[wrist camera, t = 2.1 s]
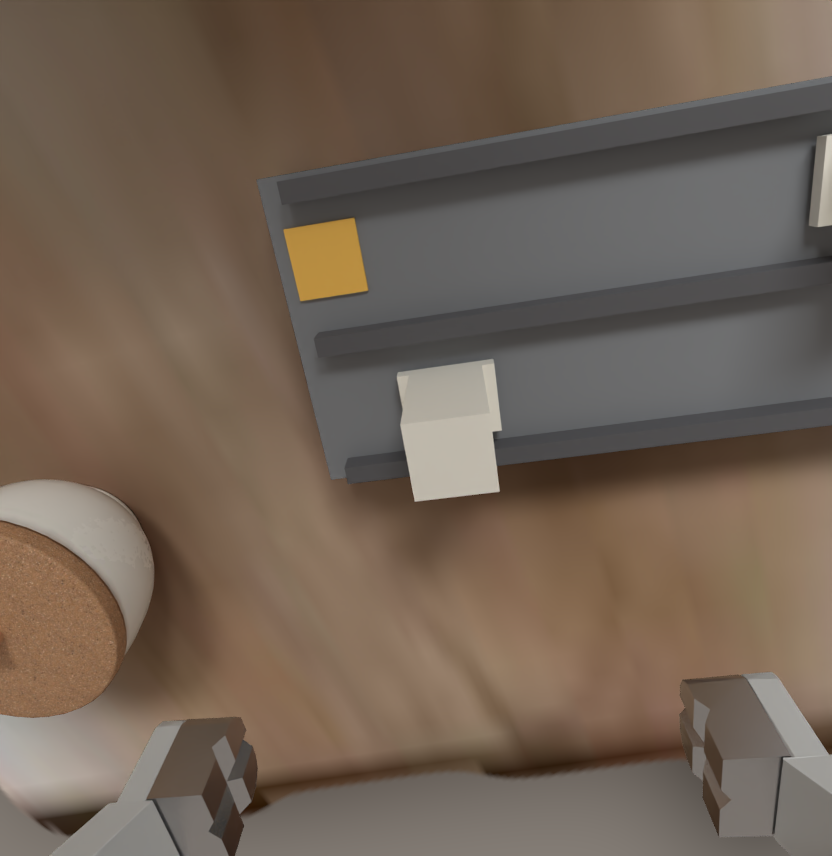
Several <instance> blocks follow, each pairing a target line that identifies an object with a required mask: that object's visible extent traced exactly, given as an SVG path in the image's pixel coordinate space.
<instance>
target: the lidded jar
mask: <svg viewBox="0 0 832 856" xmlns="http://www.w3.org/2000/svg"><path fill="white" fill-rule="evenodd" d="M153 587H154V562H153V557H152V552H151V547H150V545H149V542H148V539H147V537H146V535H145V534H144V532H143V530H142V528H141V525H140V523H139V521H138V520H137V518H136V516H135V515H134V514H133V512H132V511H131V510H130V509H129V508H128V507H127V506H126V505H125V504H124V503H123V502H122V501H120V500H119V499H118V498H116V497H115V496H113V495H111V494H110V493H108V492H106V491H103V490H101V489H98V488H95V487H92V486H87V485H82V484H79V483H75V482H70V481H64V480H49V479H37V480H27V481H21V482H16V483H12V484H8V485H4V486H0V714H3V715H9V716H16V717H30V718H36V717H49V716H55V715H60V714H65V713H68V712H70V711H73V710H76V709H79V708H81V707H83V706H85V705H87V704H88V703H90V702H92V701H93V700H95V699H96V698H97V697H98V696H99V695H101V694H102V693H103V692H104V690H105V689H106V688H107V687H108V685H109V684H110V683H111V681H112V680H113V678H114V677H115V675H116V673H117V672H118V670H119V668H120V665H121V663H122V661H123V659H124V656H125V654H126V653H127V651H128V650H129V648H130V646H131V645H132V643H133V641H134V639H135V638H136V636H137V634H138V631H139V629H140V627H141V625H142V622H143V620H144V618H145V616H146V613H147V611H148V607H149V604H150V601H151V597H152V592H153Z"/></svg>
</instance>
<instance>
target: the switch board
mask: <svg viewBox="0 0 832 856" xmlns="http://www.w3.org/2000/svg"><path fill="white" fill-rule="evenodd" d="M828 134H832V76H830V77H825V78H819V79H814V80H808V81H803V82H797V83H791V84H786V85H780V86H775V87H769V88H764V89H758V90H753V91H747V92H741V93H736V94H730V95H725V96H719V97H714V98H708V99H702V100H697V101H691V102H686V103H680V104H675V105H669V106H663V107H658V108H652V109H647V110H641V111H636V112H630V113H625V114H619V115H613V116H608V117H602V118H597V119H591V120H586V121H580V122H574V123H569V124H563V125H558V126H552V127H547V128H541V129H535V130H530V131H524V132H519V133H513V134H508V135H502V136H496V137H491V138H485V139H480V140H474V141H469V142H463V143H458V144H452V145H446V146H441V147H435V148H430V149H424V150H419V151H413V152H407V153H402V154H396V155H391V156H385V157H380V158H374V159H368V160H363V161H357V162H352V163H346V164H341V165H335V166H330V167H324V168H318V169H313V170H307V171H302V172H296V173H291V174H285V175H279V176H274V177H268V178H263V179H257V184H258V188H259V192H260V196H261V200H262V204H263V208H264V212H265V216H266V220H267V224H268V228H269V232H270V236H271V240H272V244H273V249H274V253H275V257H276V261H277V265H278V269H279V273H280V277H281V281H282V285H283V289H284V293H285V297H286V301H287V305H288V309H289V313H290V317H291V321H292V325H293V329H294V333H295V337H296V341H297V345H298V349H299V353H300V357H301V361H302V365H303V369H304V373H305V377H306V381H307V385H308V389H309V393H310V397H311V401H312V405H313V409H314V413H315V417H316V421H317V425H318V429H319V433H320V437H321V441H322V445H323V449H324V453H325V457H326V461H327V465H328V469H329V473H330V477H331V480H332V479H340V478H347V482H348V484H352V483H361V482H369V481H377V480H385V479H394V478H402V477H410V474H409V469H408V463H407V458H406V453H405V447H404V442H403V437H402V431H401V426H400V423H401V417H402V412H403V409H402V403H401V398H400V392H399V387H398V382H397V373H398V372H403V371H410V370H417V369H424V368H432V367H439V366H446V365H453V364H460V363H467V362H474V361H481V360H488V359H493V360H494V366H495V375H496V384H497V392H498V401H499V410H500V418H501V427H502V431H494V432H492V433H493V441H494V449H495V457H496V466H501V465H509V464H517V463H525V462H533V461H542V460H550V459H558V458H566V457H575V456H583V455H591V454H599V453H608V452H616V451H624V450H632V449H640V448H649V447H657V446H665V445H673V444H682V443H690V442H698V441H706V440H714V439H723V438H731V437H739V436H747V435H756V434H764V433H772V432H780V431H789V430H797V429H805V428H813V427H821V426H830V425H832V225H829V226H823V227H814V226H809V216H810V205H811V195H812V185H813V174H814V164H815V153H816V143H817V136H822V135H828Z"/></svg>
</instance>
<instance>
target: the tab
mask: <svg viewBox="0 0 832 856" xmlns="http://www.w3.org/2000/svg"><path fill="white" fill-rule="evenodd" d="M397 382H398V387H399V392H400V398H401V403H402V409H403V412H402V417H401V423H400V426H401V431H402V437H403V442H404V447H405V453H406V458H407V463H408V469H409V474H410V479H411V484H412V490H413V495H414V500H415V502H416V501H425V500H433V499H442V498H450V497H459V496H467V495H476V494H484V493H493V492H500V490H499V482H498V474H497V466H496V457H495V449H494V441H493V433H492V432H494V431H502V427H501V418H500V410H499V401H498V392H497V384H496V375H495V366H494V360H493V359H488V360H481V361H474V362H467V363H460V364H453V365H446V366H439V367H432V368H424V369H417V370H410V371H403V372H398V373H397Z"/></svg>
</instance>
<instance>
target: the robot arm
mask: <svg viewBox="0 0 832 856" xmlns="http://www.w3.org/2000/svg"><path fill="white" fill-rule="evenodd" d="M680 698H681V700H682V702H683V705H684V707H685V709H684V710H683V711H682V712H681V713H680V714H679V716H680V732H681V738H682V744H683V748H684V751H685V754H686V757H687V760H688V763H689V765H690V768H691V770H692V772H693V773H694V774H695V775H696V776H697V777H699V778H700V779H701V780H702V781H703V800H704V802H705V804H706V807H707V810H708V812H709V815H710V817H711V820H712V822H713V824H714V827H715V829H716V832H717V834H718V836H719V837H753V836H774V839H775V840H776V841H777V842H778V843H779V844H780V845H781V846H782V847H783V848H784V849H785V850H786V851H787V852H788V853H789V854H790V855H791V856H832V755H829V754H828V753H827V751H826V750H825V748H824V747H823V745H822V744H821V742H820V740H819V739H818V737H817V736H816V734H815V733H814V731H813V730H812V728H811V727H810V725H809V724H808V722H807V721H806V719H805V718H804V716H803V715H802V713H801V711H800V710H799V708H798V707H797V705H796V704H795V702H794V701H793V699H792V698H791V696H790V695H789V693H788V692H787V690H786V689H785V687H784V686H783V684H782V682H781V681H780V679H779V678H778V676H776V675H775V674H774V673H772V672H766V673H754V674H742V675H728V676H717V677H707V678H696V679H685V680H682V681H681V684H680ZM245 732H246V728H245V726H244V724H243V721H242V719H241V718H240V717H225V718H206V719H187V720H176V721H163V722H162V723H160V724H159V725H158V726H157V727H156V728H155V730H154V732H153V734H152V736H151V737H150V739H149V741H148V743H147V745H146V747H145V749H144V751H143V753H142V755H141V757H140V759H139V761H138V762H137V764H136V766H135V768H134V770H133V772H132V774H131V776H130V778H129V780H128V782H127V784H126V786H125V787H124V789H123V791H122V793H121V795H120V797H119V799H118V801H117V802H116V803H109V804H108V805H107V806H105V807H104V808H103V809H102V810H101V811H100V812H99V813H97V814H96V815H95V816H94V817H93V818H92V819H91V820H89V821H88V822H87V823H86V824H85V825H84V826H83V827H81V828H80V829H79V830H78V831H77V832H76V833H75V834H73V835H72V836H71V837H70V838H69V839H68V840H67V841H65V842H64V843H63V844H62V845H61V846H60V847H59V848H57V849H56V850H55V851H54V852H53V853H52V854H51V855H50V856H235V853H236V850H237V847H238V844H239V841H240V837H241V834H242V831H243V828H244V824H243V821H242V819H241V816H240V813H241V812H242V811H243V810H244V809H245V808H246V807H247V806H248V805H249V804H250V802H251V801H252V798H253V795H254V791H255V788H256V780H257V769H258V768H257V760H256V755H255V752H254V749H253V747H252V746H251V745H250V744H248V743H247V742H246V741H244V740H243V738H244V735H245Z"/></svg>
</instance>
